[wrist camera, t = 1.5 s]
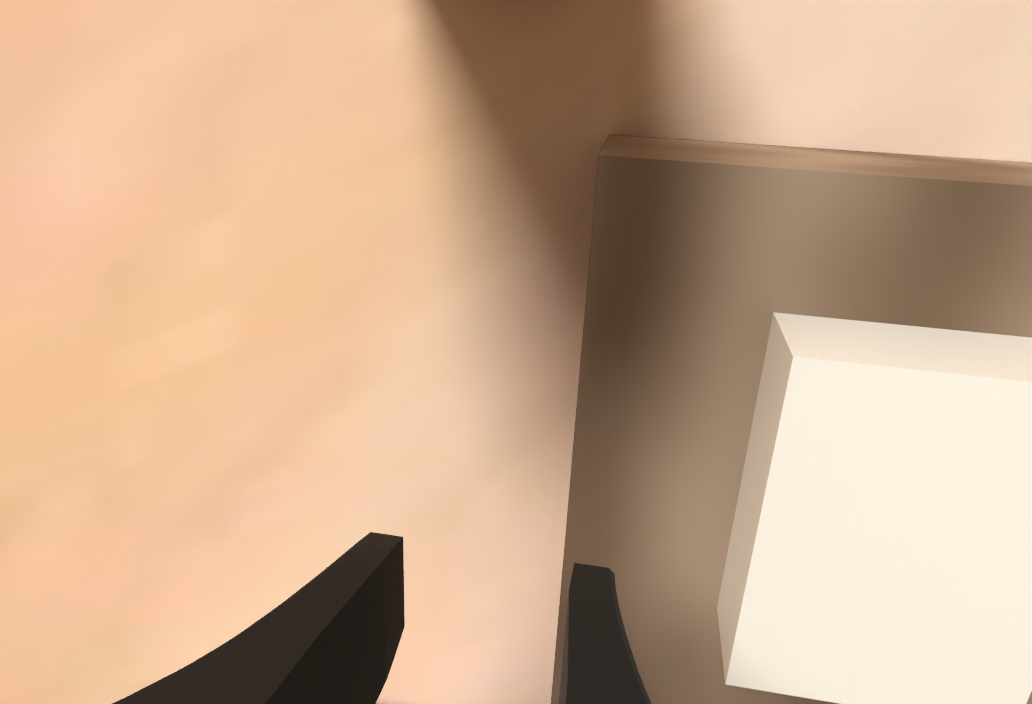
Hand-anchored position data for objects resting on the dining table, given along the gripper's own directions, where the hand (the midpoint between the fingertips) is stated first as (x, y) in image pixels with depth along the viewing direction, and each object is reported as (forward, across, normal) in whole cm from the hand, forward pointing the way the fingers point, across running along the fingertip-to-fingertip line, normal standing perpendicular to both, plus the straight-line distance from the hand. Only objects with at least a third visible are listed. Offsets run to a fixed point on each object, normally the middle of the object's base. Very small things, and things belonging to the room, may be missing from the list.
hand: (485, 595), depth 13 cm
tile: (+4, -8, 0) cm, 9 cm away
